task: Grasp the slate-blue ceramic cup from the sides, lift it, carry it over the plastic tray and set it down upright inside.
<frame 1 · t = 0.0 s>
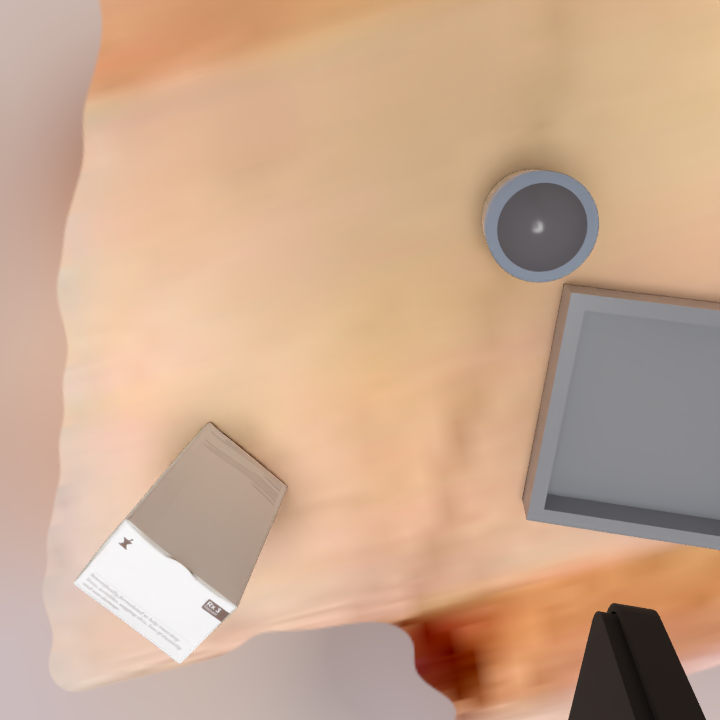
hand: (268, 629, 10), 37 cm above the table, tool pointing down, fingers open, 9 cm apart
tray: (660, 413, 45), on the table
skincare box: (232, 476, 52), on the table
cup: (528, 217, 43), on the table
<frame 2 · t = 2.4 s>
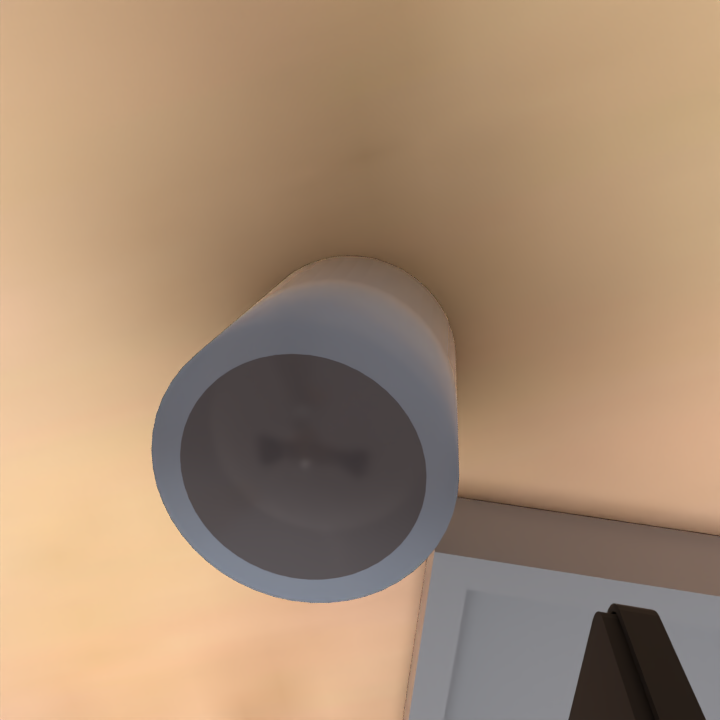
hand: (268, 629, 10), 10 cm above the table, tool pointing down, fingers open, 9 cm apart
cup: (352, 358, 19), on the table
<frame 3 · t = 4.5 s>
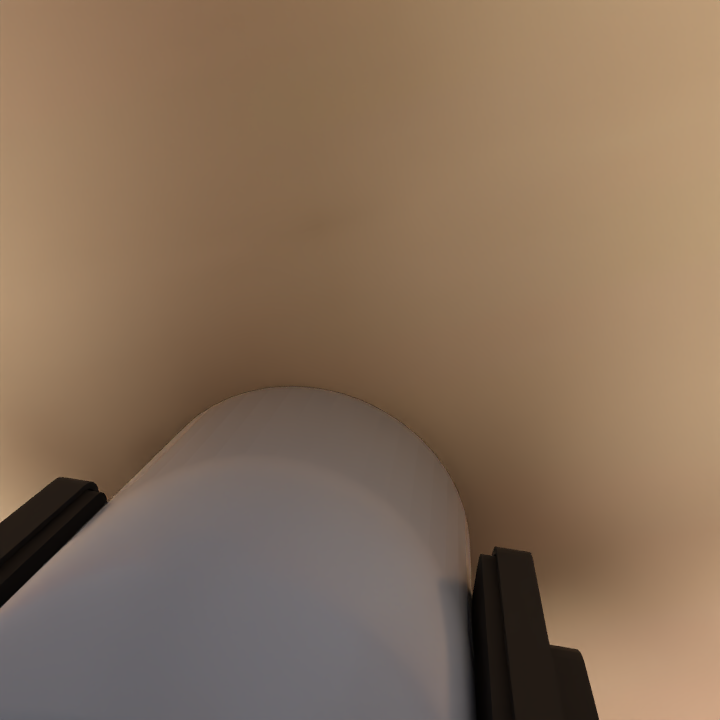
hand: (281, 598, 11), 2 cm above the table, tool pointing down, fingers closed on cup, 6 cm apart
cup: (303, 542, 12), on the table, touching gripper
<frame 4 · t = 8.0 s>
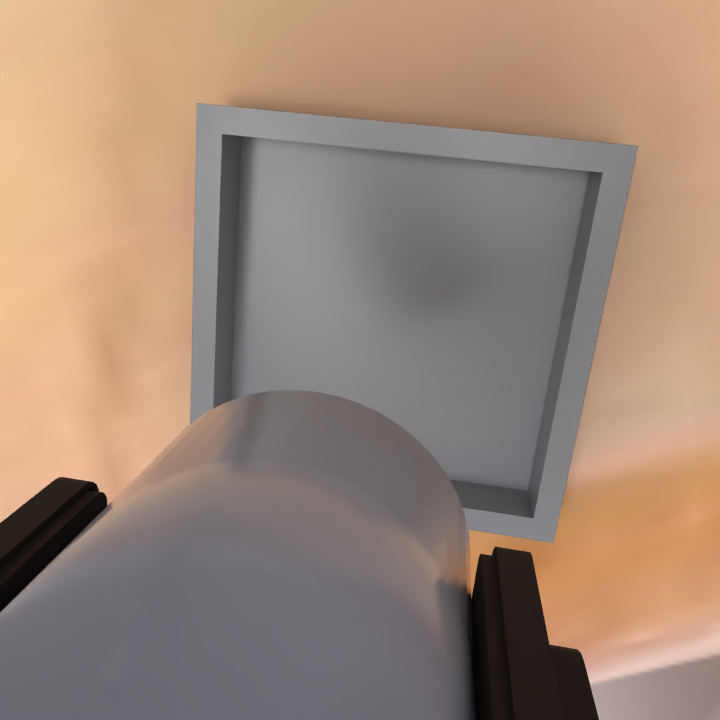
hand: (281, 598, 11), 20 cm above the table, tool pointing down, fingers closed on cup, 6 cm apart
tray: (392, 319, 29), on the table
cup: (302, 545, 12), point 18 cm above the table, touching gripper
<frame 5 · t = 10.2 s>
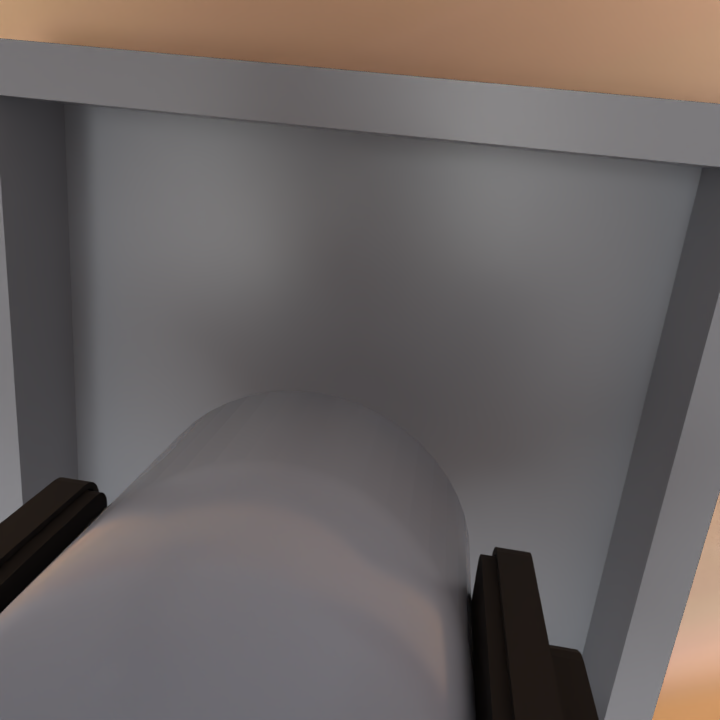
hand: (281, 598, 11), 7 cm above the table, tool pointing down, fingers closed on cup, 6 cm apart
tray: (343, 419, 17), on the table
cup: (302, 546, 12), point 5 cm above the table, touching gripper
when the fingers open (4 cm above the table, at t = 11.8 s): cup drops 2 cm, resting on tray.
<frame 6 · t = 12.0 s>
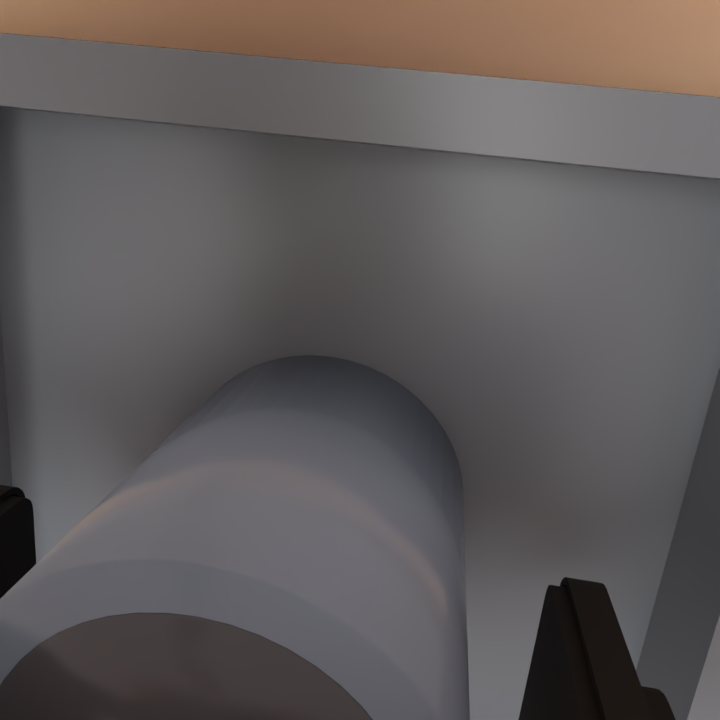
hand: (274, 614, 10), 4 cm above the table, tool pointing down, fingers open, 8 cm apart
tray: (327, 481, 14), on the table
cup: (318, 493, 14), point 1 cm above the table, touching tray
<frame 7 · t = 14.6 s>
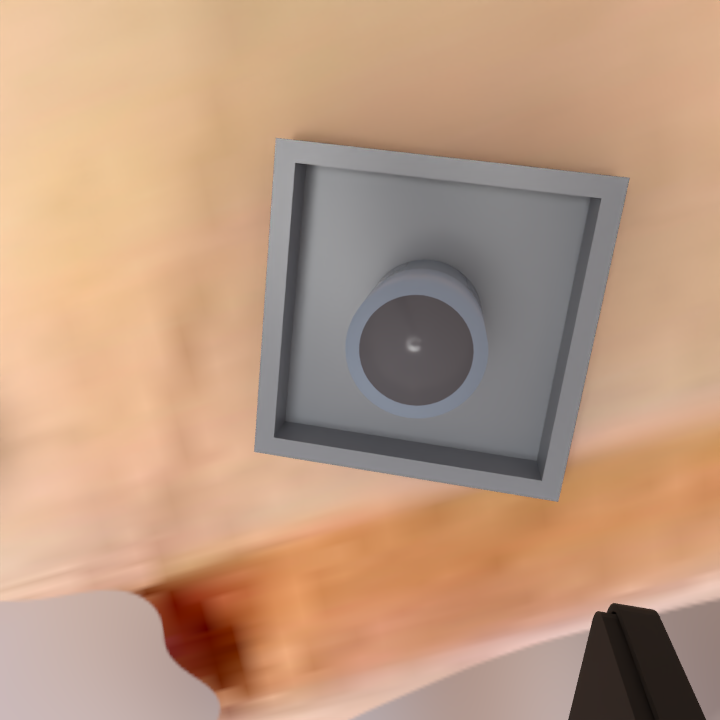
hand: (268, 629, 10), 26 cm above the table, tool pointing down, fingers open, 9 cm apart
tray: (426, 315, 35), on the table
cup: (424, 317, 34), point 1 cm above the table, touching tray
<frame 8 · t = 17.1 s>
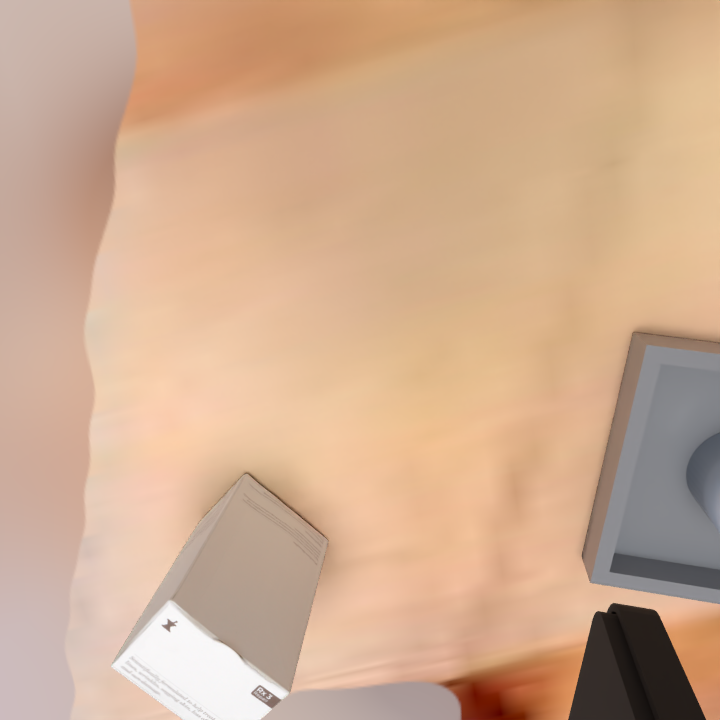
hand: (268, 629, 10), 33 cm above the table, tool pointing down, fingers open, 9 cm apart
skincare box: (269, 528, 48), on the table
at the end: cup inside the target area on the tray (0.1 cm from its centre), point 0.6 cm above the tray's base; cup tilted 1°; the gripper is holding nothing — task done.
